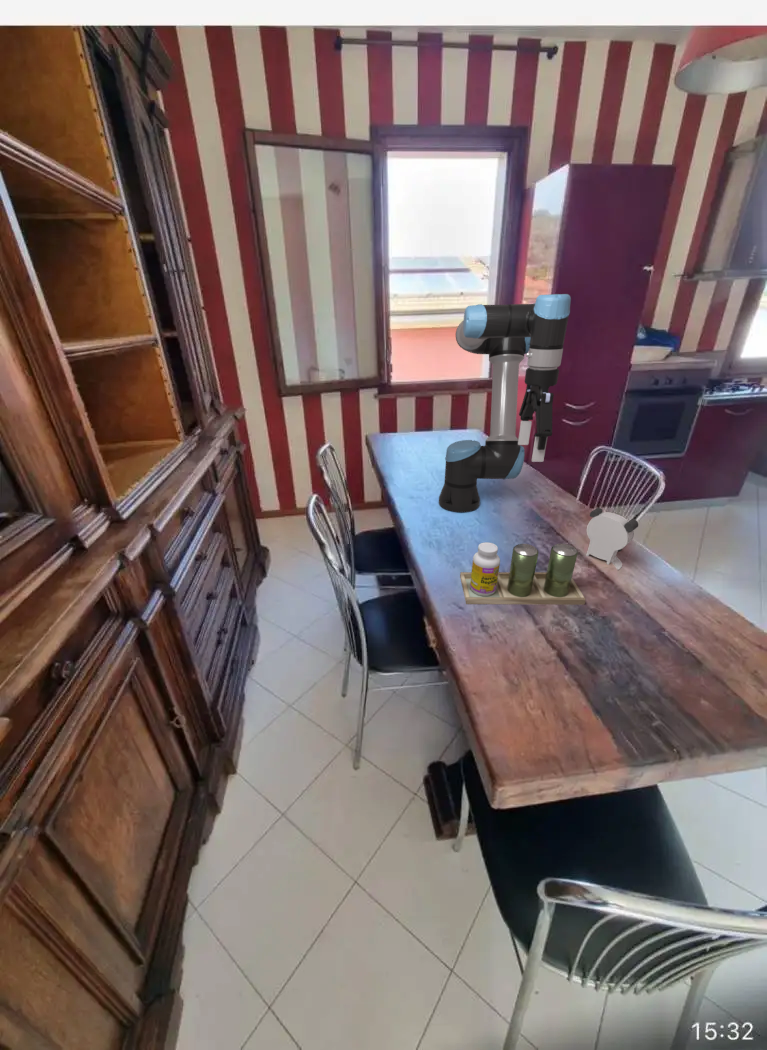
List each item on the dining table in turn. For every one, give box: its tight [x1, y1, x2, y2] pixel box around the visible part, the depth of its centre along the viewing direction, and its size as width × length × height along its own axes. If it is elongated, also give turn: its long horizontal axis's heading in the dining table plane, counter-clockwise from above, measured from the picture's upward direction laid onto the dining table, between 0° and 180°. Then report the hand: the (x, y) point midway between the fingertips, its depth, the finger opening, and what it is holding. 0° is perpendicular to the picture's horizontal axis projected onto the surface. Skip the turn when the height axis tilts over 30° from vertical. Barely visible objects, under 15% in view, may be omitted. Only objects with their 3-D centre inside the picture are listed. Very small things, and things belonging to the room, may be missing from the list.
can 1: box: [507, 543, 540, 597], centre depth 105 cm, size 6×6×12 cm
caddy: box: [459, 571, 587, 606], centre depth 108 cm, size 12×29×2 cm, turn 88°
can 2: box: [544, 543, 579, 597], centre depth 105 cm, size 6×6×12 cm
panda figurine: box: [585, 507, 639, 571], centre depth 118 cm, size 12×11×15 cm
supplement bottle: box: [470, 542, 501, 596], centre depth 106 cm, size 7×7×13 cm
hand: (529, 452), depth 110 cm, fingers open, 13 cm apart
